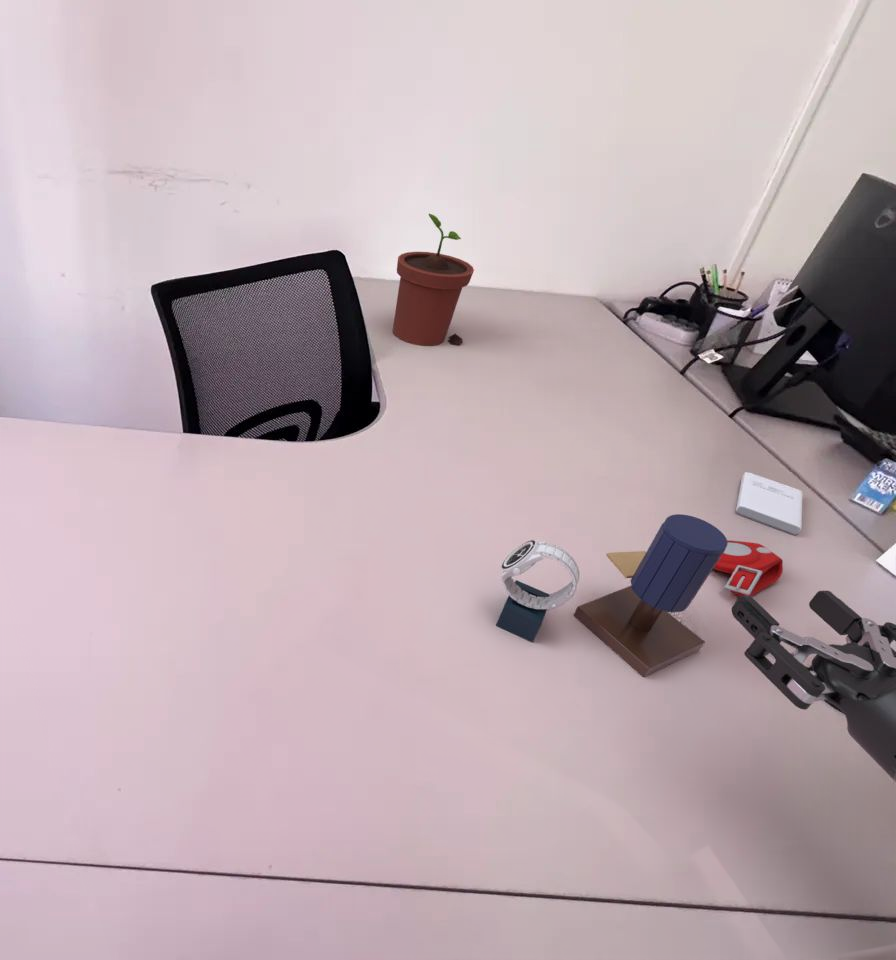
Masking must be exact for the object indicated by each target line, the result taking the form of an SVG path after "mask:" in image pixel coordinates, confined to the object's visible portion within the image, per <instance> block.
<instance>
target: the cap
mask: <svg viewBox="0 0 896 960" xmlns="http://www.w3.org/2000/svg"><path fill="white" fill-rule="evenodd" d="M727 540H728V539H727V537H726V535H725V534H724V533H723V532H722V531H721V530H720V529H719V528H718V527H716V526H715V525H713V524H712V523H710V522H708V521H706V520H704V519H702V518H699V517H696V516H693V515H688V514H680V513H679V514H678V513H677V514H671V515H669V516H667V517H666V518H665V520H664V522H663V523H662V524H661V525H660V527H659V529H658V530H657V533H656V534H655V536H654V538H653V539H652V541H651V543H650V545H649V547H648V548H647V550H646V551H645V550H639V551H638V550H637V551H618V552H617V551H616V552H606V554H605V556H606V557H607V558H608V560H609V561H610V562H611V564H613V565H614V566H615V567H616V569H617V571H619V572H620V573H621V574H622V576H623V577H624V578H625V579H630V586H632V590H633V591H634V592H635V593H636V595H637V596H638V597H639V598H640V599H641V600H643V601H644V602H646V603H648V604H649V605H651V606H652V607H655V608H657V609H660V610H664V611H667V612H668V613H682V612H685V611H686V609H687V608H688V607H690V605H691V604H692V602H693V600H694V599H695V597H696V596H697V594H698V593H699V591H700V590H701V588H702V587H703V585H704V583H705V582H706V581H707V579H708V577H709V576H710V574H711V573H712V571H713V570H714V569H713V568H714V567H715V565H716V563H717V562H718V560H719V559H720V557H721V556H722V554H723V553H724V551H725V549H726V547H727V543H728V542H727Z"/></svg>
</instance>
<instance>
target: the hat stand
mask: <svg viewBox="0 0 896 960" xmlns="http://www.w3.org/2000/svg"><path fill="white" fill-rule="evenodd" d="M573 616H574V617H575V618H576V619H577V620H579V621H580V622H581V623H582V624H583V625H584V626H585V627H586V628H588V629H589V630H590V631H591V632H592V633H593V634H594V635H596V636H597V637H598V638H599V639H600V640H601V641H602V642H603V643H604V644H605V645H606V646H608V648H610V649H611V648H612V649H611V650H612V651H614V653H616V654H617V655H618V654H619V655H618V656H619V657H620V658H621V659H623V661H625V662H626V663H627V664H628V665H629V666H630V667H631V668H633V669H634V670H635V671H636V672H637V673H638V674H639V675H641V677H643V678H644V677H647V676H648V675H651V674H653V673H655V672H657V671H660V670H661V669H663V668H665V667H667V666H670V665H672V664H674V663H676V662H678V661H680V660H682V659H684V658H686V657H688V656H690V655H692V654H695V653H696V652H699V651H700V650H701V648H702V647H703V646H704V645H705V643H706V641H705V640H703V638H701V637H700V636H698V635H697V634H696V633H695V632H693V631H692V629H690V628H689V627H687V626H686V625H684V624H683V623H682V622H681V621H680V620H678V619H677V618H675V617H674V616H673V615H672V614H670V612H667V611H664V610H660V609H657V608H655V607H652V606H651V605H649V604H648V603H646V602H644V601H643V600H641V599H640V598H639V597H638V596H637V595H636V593H635V592H634V591H633V590H632V586H631V585H629V586H627V587H624V588H621V589H619V590H616V591H614V592H611V593H608V594H606V595H604V596H600V597H598V598H596V599H594V600H590V601H588V602H585V603H583V604H580V605H578V606H577V607H576V609H575V611H574V612H573Z"/></svg>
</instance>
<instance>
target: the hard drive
mask: <svg viewBox="0 0 896 960" xmlns="http://www.w3.org/2000/svg"><path fill="white" fill-rule="evenodd" d="M735 513H736V514H737V515H739V516H742V517H744V518H746V519H749V520H752V521H755V522H757V523H760V524H763V525H766V526H768V527H772V528H773V529H776V530H780V531H782V532H784V533H787V534H790V535H792V536H798V535H799V533H800V532H801V530H802V524H803V491H802V490H801V489H798V488H795V487H793V486H790V485H786V484H783V483H781V482H777V481H775V480H772V479H770V478H766V477H763V476H761V475H758V474H755V473H752V472H748V471H745V472H744V473H743V474H742V476H741V480H740V486H739V490H738V496H737V502H736V508H735Z"/></svg>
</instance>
